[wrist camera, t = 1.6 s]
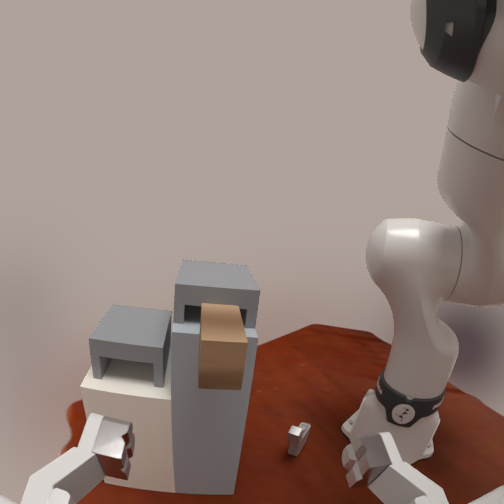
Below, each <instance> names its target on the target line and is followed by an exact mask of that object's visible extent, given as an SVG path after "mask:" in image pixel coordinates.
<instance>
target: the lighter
mask: <svg viewBox="0 0 504 504" xmlns="http://www.w3.org/2000/svg"><path fill="white" fill-rule="evenodd" d="M310 427H311V425H309V424H306V423H303V422H301V424H300V425H299V427H296V426H291V428H290V430H289V432H288V442H289V443H290V446H289V449H288V453H289V454H291V455H294V456H297V455H298V454H299V452H300V451H301V449H302V448H303V446H304V445H305V443H306V440H307V437H308V434H309V431H310Z"/></svg>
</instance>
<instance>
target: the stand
mask: <svg viewBox="0 0 504 504" xmlns="http://www.w3.org/2000/svg"><path fill="white" fill-rule="evenodd" d="M259 295H260V289H259V287H258V286H257V284H256V282H255V280H254V278H253V276H252V274H251V273H250V271H249V269H248V267H247V265H238V264H237V265H236V264H226V263H215V262H203V261H192V260H182V263H181V266H180V269H179V273H178V276H177V279H176V283H175V298H174V299H175V300H174V321H173V328H172V339H171V313H172V311H167V310H157V309H147V308H137V307H129V306H120V305H112V306H111V308H110V309H109V311H108V312H107V313H106V315H105V316H104V317H103V319H102V320H101V322H100V323H99V324H98V326H97V327H96V329H95V330H94V332H93V333H92V335H91V336H90V337H89V345H90V355H91V363H92V366H91V368H90V370H89V371H88V373H87V375H86V377H85V379H84V381H83V382H82V384H81V386H80V388H81V394H82V399H83V404H84V409H85V413H86V418H87V419H88V417H89V415H90V414H91V413H95V414H99V415H103V416H106V417H110V418H114V419H119V420H123V421H128V422H132V425H133V430H132V433H134V436H135V446H134V453H133V456H132V457H131V458H130V459H129V461H130V465H131V468H130V472H129V477H128V480H123V479H118V478H114V477H109V476H106V477H105V478H104V482H105V483H108V484H113V485H119V486H124V487H131V488H137V489H144V490H152V491H161V492H172V493H185V494H208V495H234V489H235V483H236V477H237V471H238V465H239V459H240V453H241V447H242V441H243V435H244V429H245V422H246V416H247V409H248V403H249V397H250V390H251V383H252V377H253V370H254V363H255V357H256V350H257V343H258V335H257V333H256V330H255V325H256V318H257V310H258V303H259ZM202 303H209V304H222V305H236V306H239V309H240V313H241V317H242V321H243V325H244V329H245V333H246V337H247V340H248V347H247V354H246V361H245V368H244V375H243V381H242V388H241V390H218V389H199V388H198V355H199V332H200V318H201V305H202Z"/></svg>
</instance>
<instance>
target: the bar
mask: <svg viewBox="0 0 504 504" xmlns="http://www.w3.org/2000/svg"><path fill="white" fill-rule="evenodd" d="M247 347H248V340H247V337H246V333H245V329H244V325H243V321H242V317H241V313H240V309H239V306H236V305H222V304H209V303H202V305H201V318H200V332H199V355H198V388H199V389H218V390H241V388H242V381H243V375H244V368H245V361H246V354H247Z"/></svg>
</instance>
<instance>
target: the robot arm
mask: <svg viewBox="0 0 504 504" xmlns="http://www.w3.org/2000/svg"><path fill="white" fill-rule="evenodd" d="M411 21H412V26H413V29H414V33H415V36H416V38H417V40H418V43H419V45H420V49H421V53H422V55H423V56H424V58H425V59H426V61H427V62H428V63H429V65H430V66H431V67H433V68H435V69H436V70H438V71H440V72H442V73H444V74H446V75H448V76H450V77H452V78H454V79H457V83H456V87H455V91H454V95H453V100H452V104H451V109H450V114H449V120H448V125H447V131H446V136H445V142H444V147H443V152H442V157H441V162H440V166H439V171H438V176H437V181H438V187H439V191H440V194H441V196H442V198H443V199H444V201H445V202H446V204H447V205H448V206H449V207H450V209H451V210H452V211H453V212H454V213H455V214H456V215H457V216H458V217H460V219H462V220H463V221H464V222H463V224H462V225H461V226H450V225H446V224H441V223H436V222H431V221H427V220H421V219H417V218H397V219H386V220H384V221H383V222H381V223H380V224H379V225H378V226H377V227H376V228H375V230H374V231H373V233H372V234H371V236H370V239H369V241H368V244H367V248H366V264H367V268H368V271H369V273H370V276H371V278H372V279H373V281H374V282H375V283H376V285H377V286H378V287H379V288H380V289H381V290H382V292H383V293H384V295H385V296H386V298H387V300H388V302H389V304H390V306H391V310H392V313H393V318H394V337H393V342H392V347H391V351H390V355H389V359H388V362H387V365H386V368H385V369H384V370H383V371H382V373H381V375H380V377H379V379H378V382H377V386H376V389H375V391H374V390H372V389H369V390H368V392H367V394H366V395H365V396H364V398H363V401H362V403H361V406H360V408H359V409H358V410H357V411H356V412H355V413H354V414H353V415H352V416H351V417H350V418H349V419H348V420H347V421H346V422H345V423H344V424H343V425H342V427H341V430H342V432H343V433H344V434H345V435H346V436H347V437H348V438H349V439H350V441H351V444H349V445H347V446H346V447H345V449H344V450H343V453H342V463H343V467H344V468H346V469H347V470H348V472H347V474H346V478H347V481H348V485H349V488H357V487H364V486H368V488H369V489H370V490H371V491H372V492H373V493H374V494H375V495H376V496H377V497H378V498H379V499H380V500H381V501H382V502H383V503H384V504H449V503H448V501H447V498H446V496H445V493H444V491H443V489H442V488H441V487H440V486H438V485H437V484H435V483H434V482H433V481H431V480H430V479H428V478H427V477H426V476H424V475H423V474H422V473H420V472H419V471H418V470H416V469H415V468H414V467H412V466H411V464H412V463H414V462H416V461H417V460H419V459H424V458H428V457H431V456H432V454H433V452H434V448H433V439H432V438H433V436H434V434H435V432H436V430H437V428H438V425H439V423H440V419H439V413H438V411H437V410H438V408H439V406H440V404H441V403H442V401H443V398H444V394H445V392H446V387H445V386H446V384H447V382H448V379H449V377H450V374H451V372H452V369H453V366H454V364H455V361H456V359H457V356H458V352H459V344H458V339H457V337H456V335H455V334H454V332H453V331H452V330H451V329H450V328H449V327H448V326H447V325H446V324H445V323H444V322H442V321H441V320H440V319H438V318H437V309H438V305H439V303H440V302H450V303H455V304H461V305H467V306H473V307H478V308H482V307H495V306H503V305H504V0H411ZM132 430H133V425H132V422H128V421H123V420H119V419H114V418H110V417H106V416H103V415H99V414H95V413H91V414H90V415H89V417H88V419H87V422H86V425H85V427H84V430H83V433H82V436H81V439H80V442H79V444H78V447H77V448H76V447H73V448H71V449H70V450H68V451H67V452H66V453H64V454H63V455H61V456H60V457H58V458H57V459H55V460H54V461H52V462H51V463H49V464H48V465H46V466H45V467H44V468H42V469H40V470H39V471H37V472H36V473H34V474H33V475H31V476H30V478H29V481H28V484H27V487H26V490H25V492H24V495H23V498H22V501H21V504H77V502H79V501H80V500H81V499H82V498H83V497H84V496H85V495H86V494H88V493H89V492H90V491H91V490H92V489H93V488H94V487H95V486H96V485H97V484H98V483H100V482H101V481H102V480H103V479H104V478H105V477H106V476H109V477H114V478H118V479H123V480H128V477H129V472H130V468H131V465H130V461H129V459H130V458H131V457H132V456H133V453H134V446H135V436H134V433H132ZM0 504H18V503H16V502H14V501H12V500H10V499H8V498H6V497H4V496H2V495H0ZM468 504H504V485H503V486H500V487H498V488H497V489H495V490H493V491H491V492H489V493H488V494H486V495H484V496H482V497H480V498H478V499H476V500H474V501H472V502H470V503H468Z"/></svg>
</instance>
